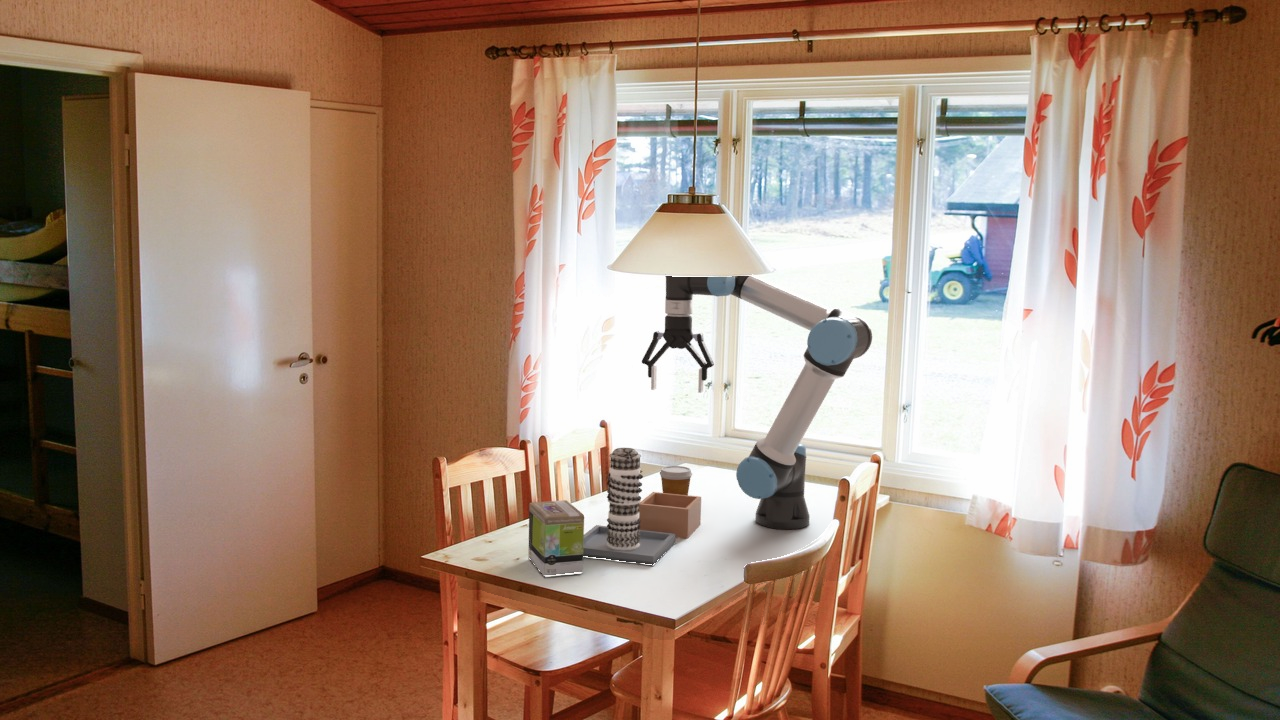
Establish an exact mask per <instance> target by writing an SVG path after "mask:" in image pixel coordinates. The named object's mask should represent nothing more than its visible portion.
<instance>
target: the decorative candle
mask: <svg viewBox="0 0 1280 720" xmlns="http://www.w3.org/2000/svg"><path fill="white" fill-rule="evenodd" d="M608 456H609V457H610V460H609V463H610V466H609V468H608V469H609V471H608V472H609V473H608V474H607V475H606V479H607V481H606V485H607V487H608V488H607V490H606V491H607V492H606V493H607V495H606V498H607V502H608V503H609V509H608V513H607V514H608V518H607V519H606V521H607V523H608V524H607V525H606V526H607V527H608V529H609V530H608V531H607V535H608V537H607V541H608V543H607V546H608V547H609V548H611V549H614V550H622V551H626V550H634V549H637V548H639V546H640V544H639V542H640V538H639V536H640V532H639V530H638V529H640V527H641V526H640V525H639V523H640V521H641V520H640V519H639V503H640V502H641V501H642V500H641V499H642V496H640V495H639V494H640V493H642V491H643V489H642V488H641V487H642V486H643V483H642V482H641V481H640V480H641V479H643V478H644V476H643V475H642V472H643V470H642V469H641V457H642V455H641V454H639V453H638V451H637V450H636V449H634V448H632V447H618V448H615V449H614V450H613V451H612V452H611V453H610V454H608Z"/></svg>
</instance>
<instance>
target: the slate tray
mask: <svg viewBox="0 0 1280 720" xmlns="http://www.w3.org/2000/svg"><path fill="white" fill-rule="evenodd" d="M608 530H609V529H608V527H607V525H599V524H596V525H595V526H593V527H592V528H591V529H589V530H588V531H587V532H584V541H583V556H588V557H596V558H606V559H611V560H619V561H626V562H636V563H645V564H652V565H653V564H654V563H656V562H657V560H658V559H660V558H661V556H662V557H664V555H665V554H666V553H668V552H669V550H671V548H672V547H674V545H675V544H676V537H675V534H672V533H663V532H654V531H645V530H639V532H640V536H639V538H640V542H639V544H640V546H639V548H637V549H634V550H626V551H622V550H614V549H611V548H609V547H608V546H607V543H608V541H607V537H608V535H607V531H608ZM674 543H675V544H674ZM665 552H666V553H665ZM664 553H665V554H664ZM663 554H664V555H663ZM660 560H661V559H660ZM657 563H658V562H657Z"/></svg>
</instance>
